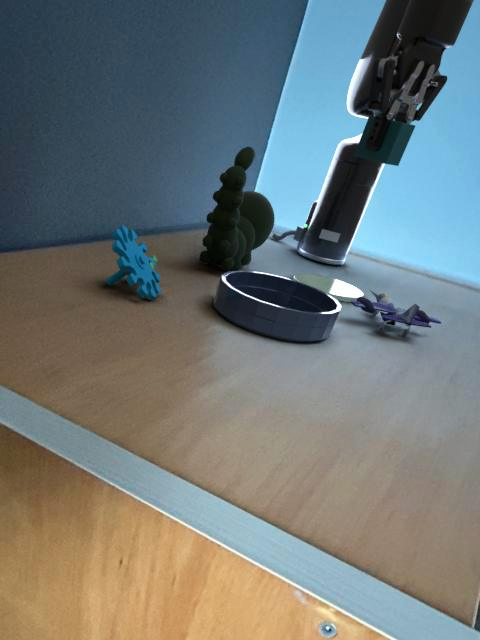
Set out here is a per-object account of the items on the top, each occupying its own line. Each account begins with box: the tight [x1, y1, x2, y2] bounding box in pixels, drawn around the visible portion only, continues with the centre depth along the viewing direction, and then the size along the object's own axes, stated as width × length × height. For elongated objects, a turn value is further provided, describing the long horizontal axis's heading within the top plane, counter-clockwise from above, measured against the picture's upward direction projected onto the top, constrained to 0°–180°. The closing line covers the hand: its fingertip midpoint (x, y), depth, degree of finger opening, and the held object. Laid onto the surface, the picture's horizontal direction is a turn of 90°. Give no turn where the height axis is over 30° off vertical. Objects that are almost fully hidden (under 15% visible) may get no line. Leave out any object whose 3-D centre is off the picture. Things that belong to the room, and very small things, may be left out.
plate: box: [292, 272, 365, 303], centre depth 98 cm, size 12×12×1 cm
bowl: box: [213, 270, 343, 343], centre depth 77 cm, size 16×16×4 cm
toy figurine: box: [198, 146, 275, 272], centre depth 94 cm, size 9×19×25 cm
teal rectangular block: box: [354, 116, 416, 167], centre depth 83 cm, size 6×3×5 cm, turn 29°
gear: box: [105, 224, 162, 301], centre depth 76 cm, size 11×6×10 cm
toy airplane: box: [350, 289, 442, 338], centre depth 85 cm, size 13×14×4 cm
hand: (379, 151), depth 84 cm, fingers closed on teal rectangular block, 3 cm apart
